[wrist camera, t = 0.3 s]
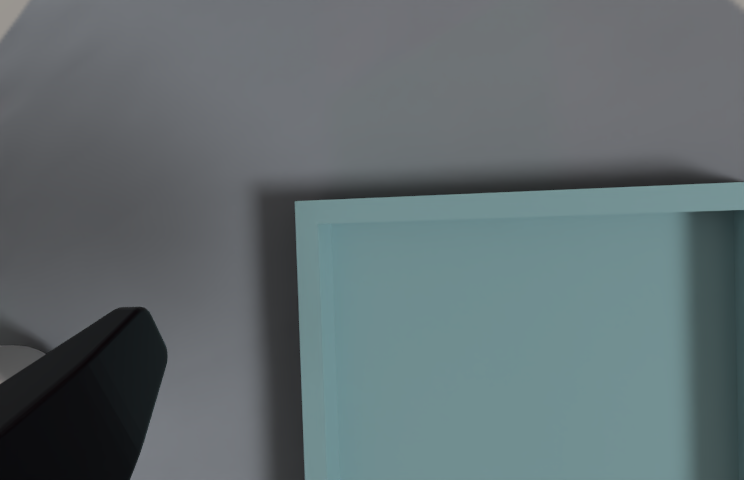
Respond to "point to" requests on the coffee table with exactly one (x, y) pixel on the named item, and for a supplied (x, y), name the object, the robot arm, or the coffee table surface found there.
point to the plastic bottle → (16, 359)
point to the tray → (524, 335)
